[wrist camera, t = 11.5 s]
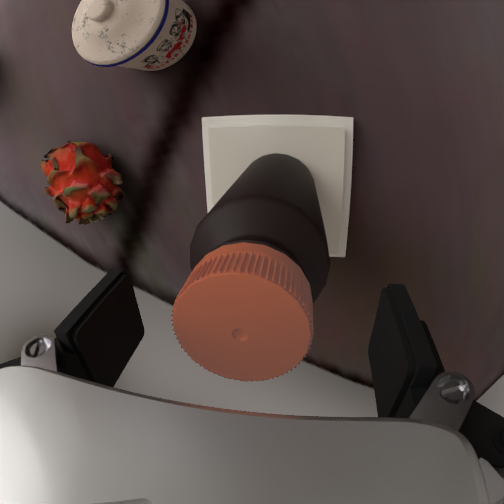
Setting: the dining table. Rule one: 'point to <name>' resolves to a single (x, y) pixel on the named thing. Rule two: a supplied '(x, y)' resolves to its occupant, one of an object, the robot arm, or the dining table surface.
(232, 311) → the dark brown water bottle
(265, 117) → the stand
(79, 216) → the dragon fruit
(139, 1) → the teacup with lid
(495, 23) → the dining table surface
